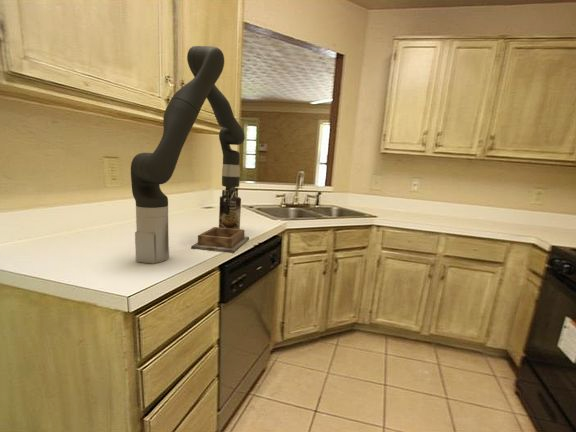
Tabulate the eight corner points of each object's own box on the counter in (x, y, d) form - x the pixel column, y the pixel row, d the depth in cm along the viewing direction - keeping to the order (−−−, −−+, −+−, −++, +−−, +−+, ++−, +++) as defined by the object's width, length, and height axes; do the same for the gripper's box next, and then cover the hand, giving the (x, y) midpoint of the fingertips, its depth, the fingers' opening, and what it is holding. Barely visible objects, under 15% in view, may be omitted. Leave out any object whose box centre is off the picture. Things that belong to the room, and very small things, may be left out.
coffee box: (218, 234, 132) (219, 197, 130) (218, 231, 138) (219, 195, 136) (240, 234, 135) (241, 198, 132) (238, 231, 141) (239, 196, 138)
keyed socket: (249, 239, 128) (249, 228, 127) (233, 253, 109) (234, 240, 108) (212, 235, 130) (212, 225, 130) (191, 248, 111) (191, 236, 110)
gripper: (233, 176, 125) (232, 215, 127) (244, 175, 139) (242, 210, 141) (216, 175, 126) (215, 214, 129) (228, 174, 140) (227, 209, 142)
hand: (230, 212), depth 135 cm, fingers closed on coffee box, 8 cm apart
